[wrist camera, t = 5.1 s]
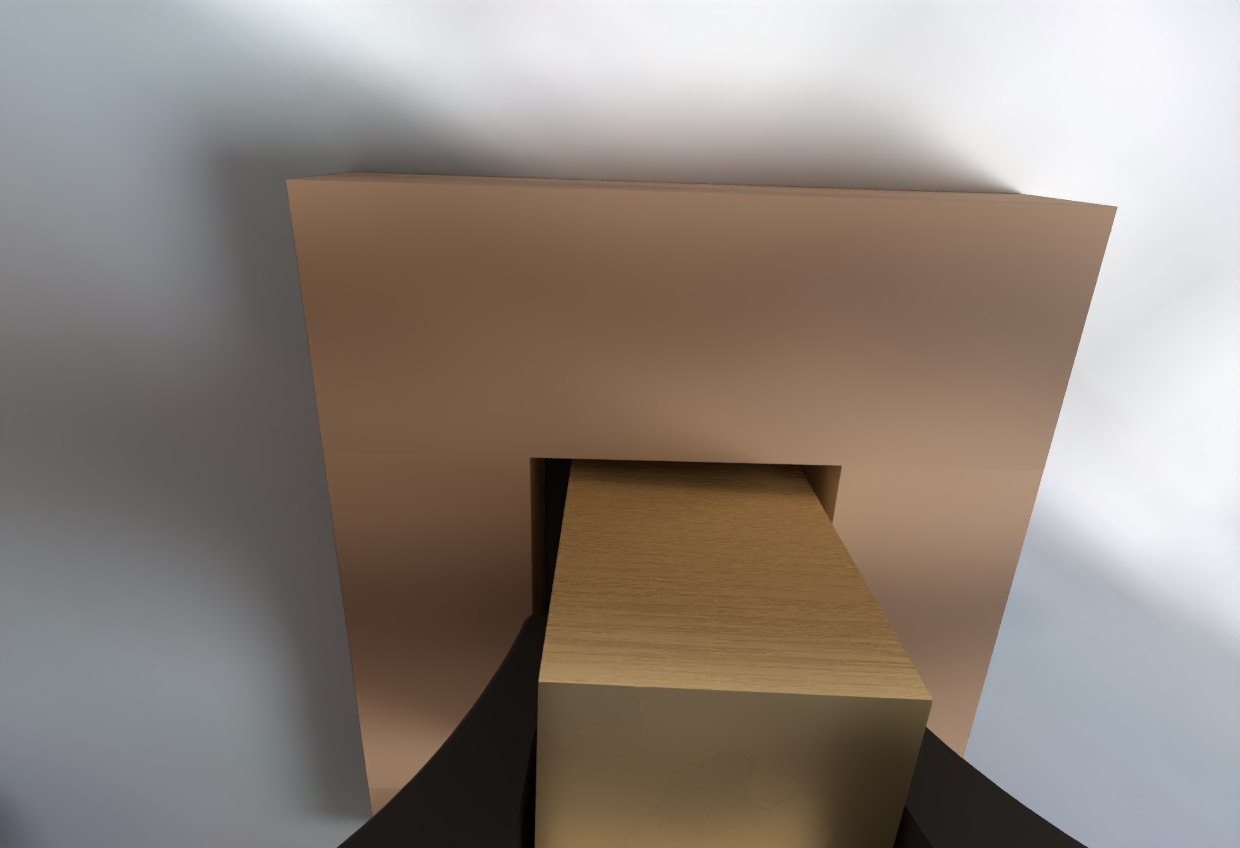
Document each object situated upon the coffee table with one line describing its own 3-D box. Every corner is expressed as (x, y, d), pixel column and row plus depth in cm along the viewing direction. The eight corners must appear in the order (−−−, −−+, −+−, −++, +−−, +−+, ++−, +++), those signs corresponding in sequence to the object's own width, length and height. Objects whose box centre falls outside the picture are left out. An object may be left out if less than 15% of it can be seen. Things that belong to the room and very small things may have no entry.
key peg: (783, 438, 14) (933, 699, 7) (743, 701, 16) (829, 1080, 9) (577, 428, 14) (538, 681, 7) (566, 693, 16) (529, 1070, 9)
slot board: (876, 834, 19) (913, 933, 16) (416, 826, 18) (387, 926, 16) (1025, 194, 13) (1117, 206, 10) (347, 172, 12) (285, 179, 10)
